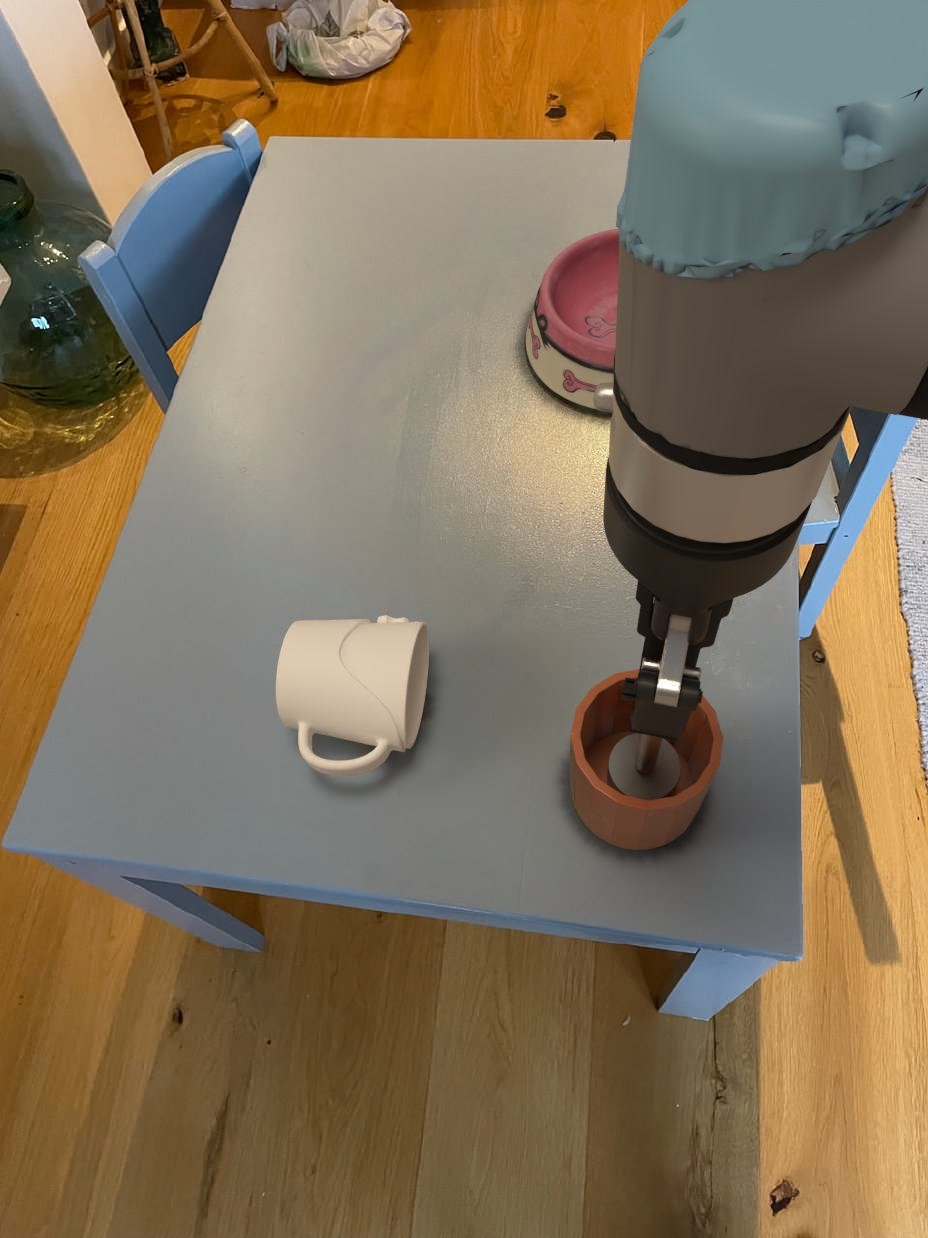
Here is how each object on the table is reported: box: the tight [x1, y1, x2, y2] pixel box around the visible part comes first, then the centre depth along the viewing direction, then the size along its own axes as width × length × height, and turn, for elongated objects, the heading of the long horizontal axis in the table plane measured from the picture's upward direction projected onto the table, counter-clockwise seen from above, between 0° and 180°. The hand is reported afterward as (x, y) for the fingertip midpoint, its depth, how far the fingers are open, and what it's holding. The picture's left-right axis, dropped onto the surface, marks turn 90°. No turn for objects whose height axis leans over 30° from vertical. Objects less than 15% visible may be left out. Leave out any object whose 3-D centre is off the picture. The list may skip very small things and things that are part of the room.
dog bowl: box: [523, 228, 619, 418], centre depth 83 cm, size 18×19×7 cm
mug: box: [275, 614, 430, 777], centre depth 68 cm, size 12×9×8 cm
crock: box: [568, 668, 724, 851], centre depth 62 cm, size 9×9×10 cm
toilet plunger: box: [607, 733, 681, 800], centre depth 55 cm, size 5×5×21 cm
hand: (656, 713), depth 54 cm, fingers closed on toilet plunger
